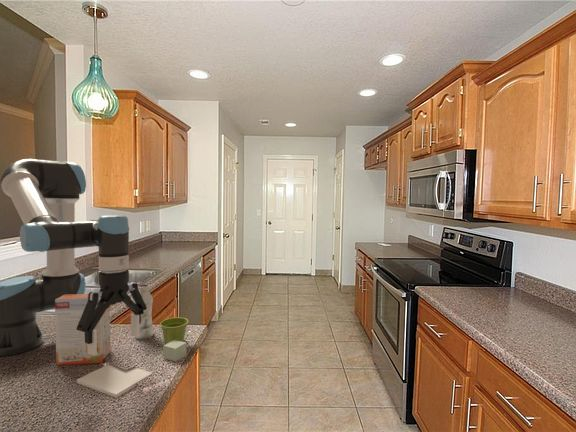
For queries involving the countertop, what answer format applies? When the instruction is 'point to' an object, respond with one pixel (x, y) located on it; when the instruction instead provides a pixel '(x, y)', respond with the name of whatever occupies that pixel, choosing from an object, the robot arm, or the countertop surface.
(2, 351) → the robot arm
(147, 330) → the plastic bottle
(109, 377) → the board
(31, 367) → the countertop surface
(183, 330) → the plant pot
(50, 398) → the countertop surface
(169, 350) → the sage block
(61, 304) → the cracker box
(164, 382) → the countertop surface
